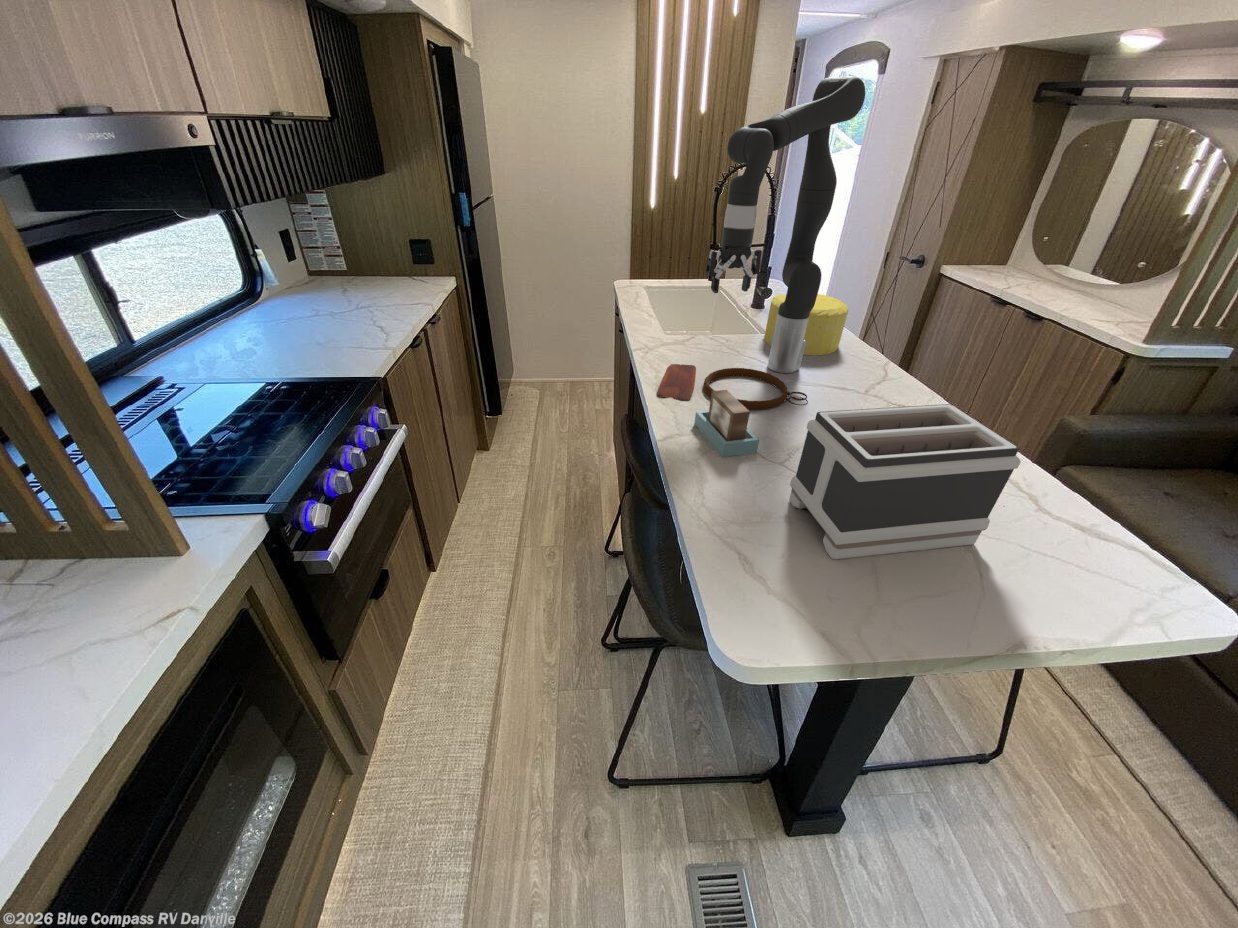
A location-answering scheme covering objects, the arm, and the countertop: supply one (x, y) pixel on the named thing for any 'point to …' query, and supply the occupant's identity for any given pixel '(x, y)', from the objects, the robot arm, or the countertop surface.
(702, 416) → the light blue rectangular tray
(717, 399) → the picture frame
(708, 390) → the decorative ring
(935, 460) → the toaster
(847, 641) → the countertop surface
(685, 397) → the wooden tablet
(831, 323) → the cheese
